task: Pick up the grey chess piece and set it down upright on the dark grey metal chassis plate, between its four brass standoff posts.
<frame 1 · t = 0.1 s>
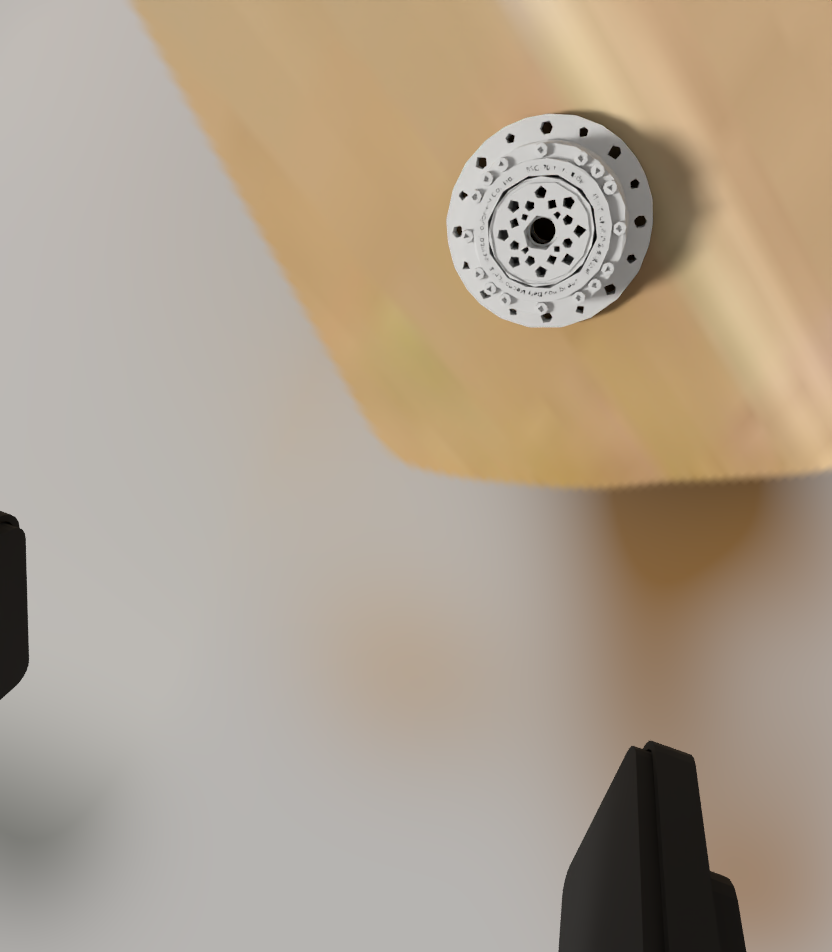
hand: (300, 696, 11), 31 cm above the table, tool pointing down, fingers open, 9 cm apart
mechanical component: (549, 224, 37), on the table
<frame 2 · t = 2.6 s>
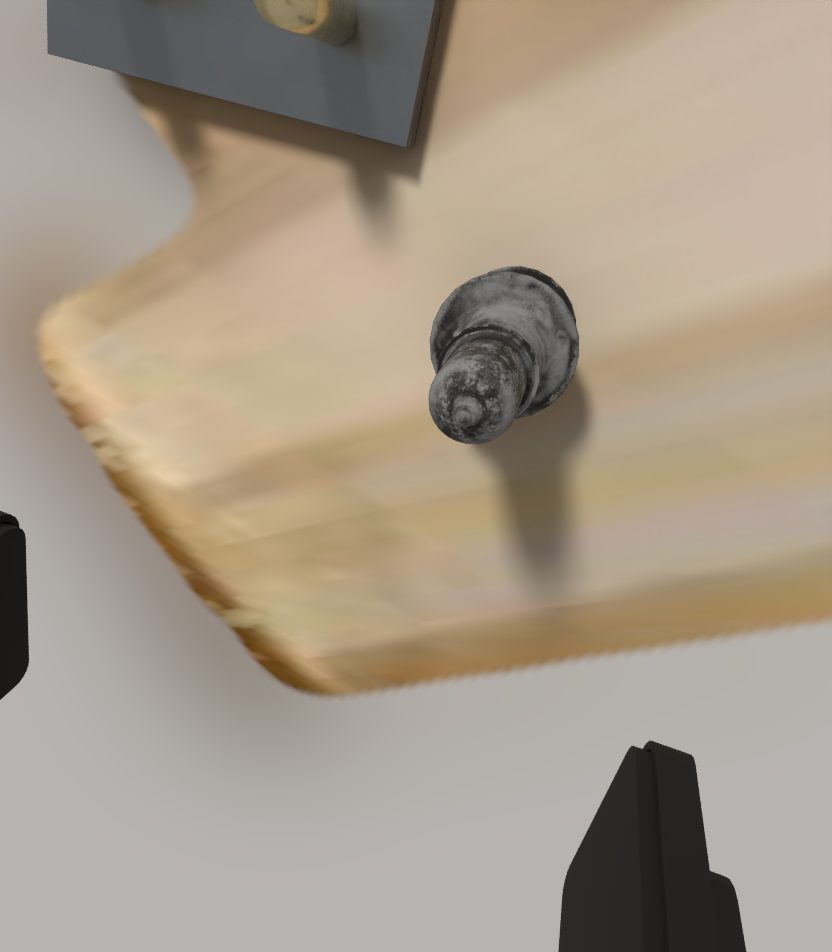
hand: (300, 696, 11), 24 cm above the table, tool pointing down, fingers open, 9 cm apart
grey chess piece: (514, 327, 32), on the table
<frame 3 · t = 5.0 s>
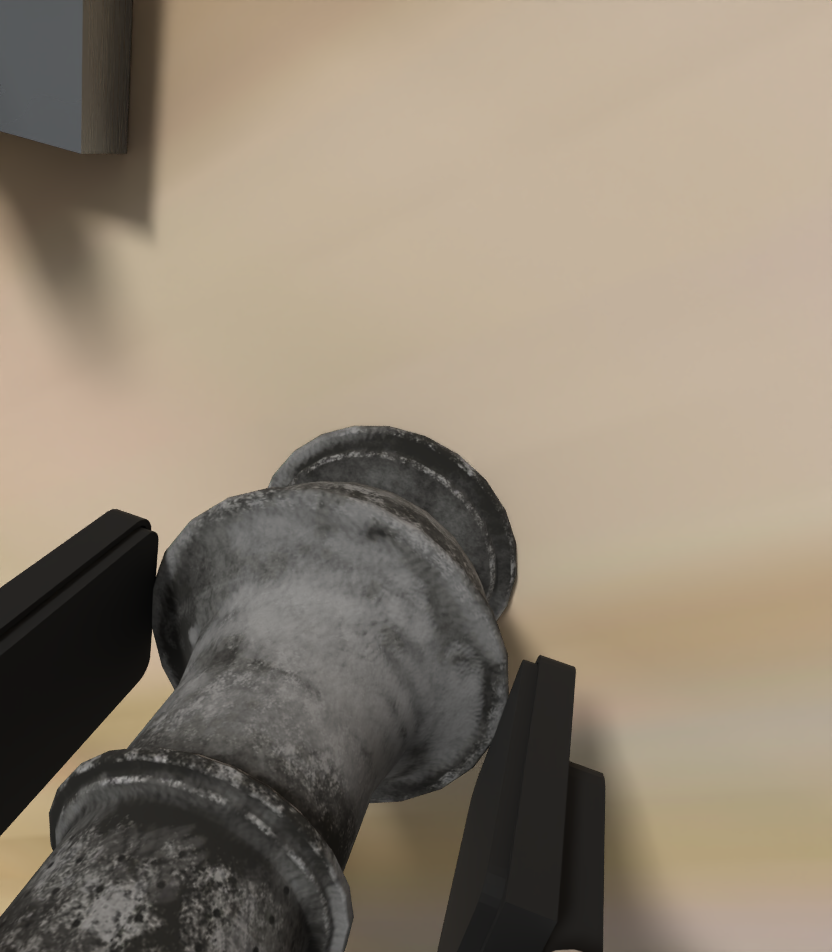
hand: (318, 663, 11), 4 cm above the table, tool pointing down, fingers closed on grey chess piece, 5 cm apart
grey chess piece: (387, 545, 15), on the table, touching gripper
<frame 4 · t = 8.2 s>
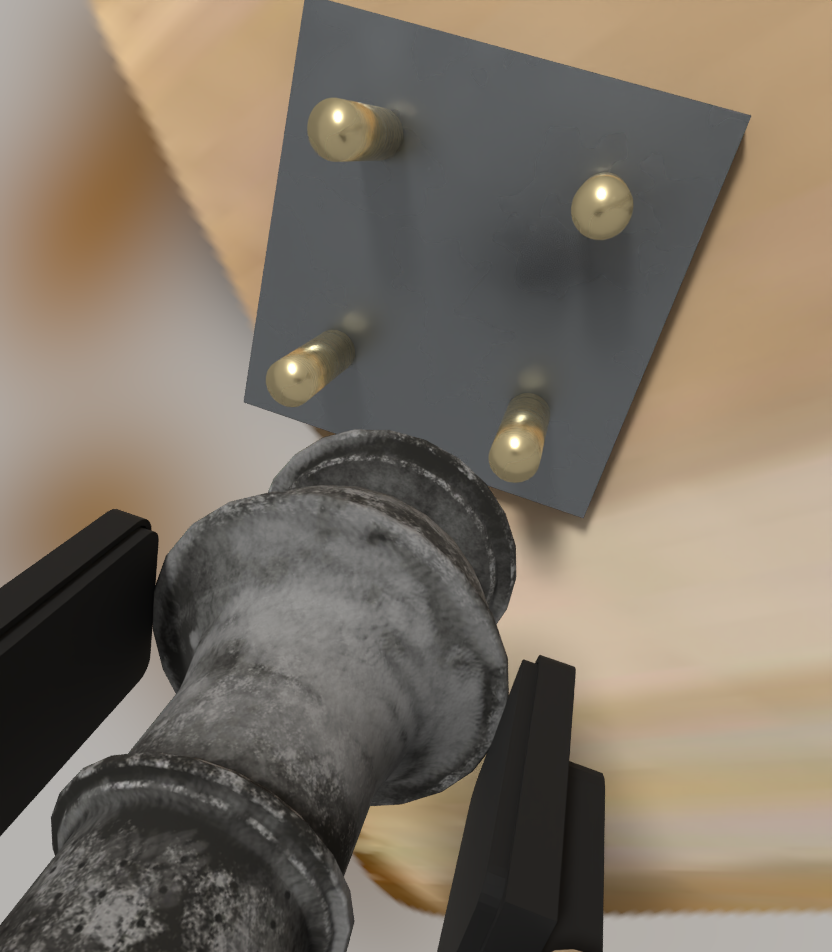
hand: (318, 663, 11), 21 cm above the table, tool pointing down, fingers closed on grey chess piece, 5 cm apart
standoff chassis: (463, 276, 29), on the table
grey chess piece: (387, 548, 15), point 18 cm above the table, touching gripper
when the fingers open (6 cm above the table, at t = 11.8 s): grey chess piece drops 1 cm, resting on standoff chassis.
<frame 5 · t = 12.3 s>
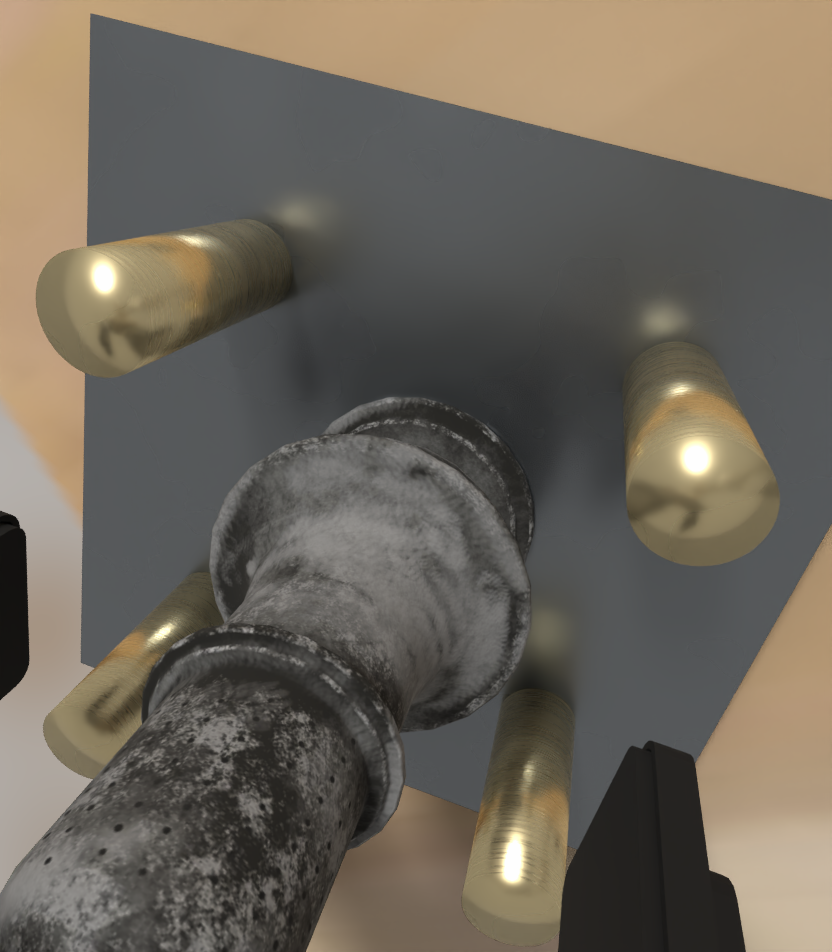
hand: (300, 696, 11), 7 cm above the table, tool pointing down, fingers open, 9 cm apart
standoff chassis: (419, 489, 17), on the table
grey chess piece: (415, 510, 16), point 1 cm above the table, touching standoff chassis
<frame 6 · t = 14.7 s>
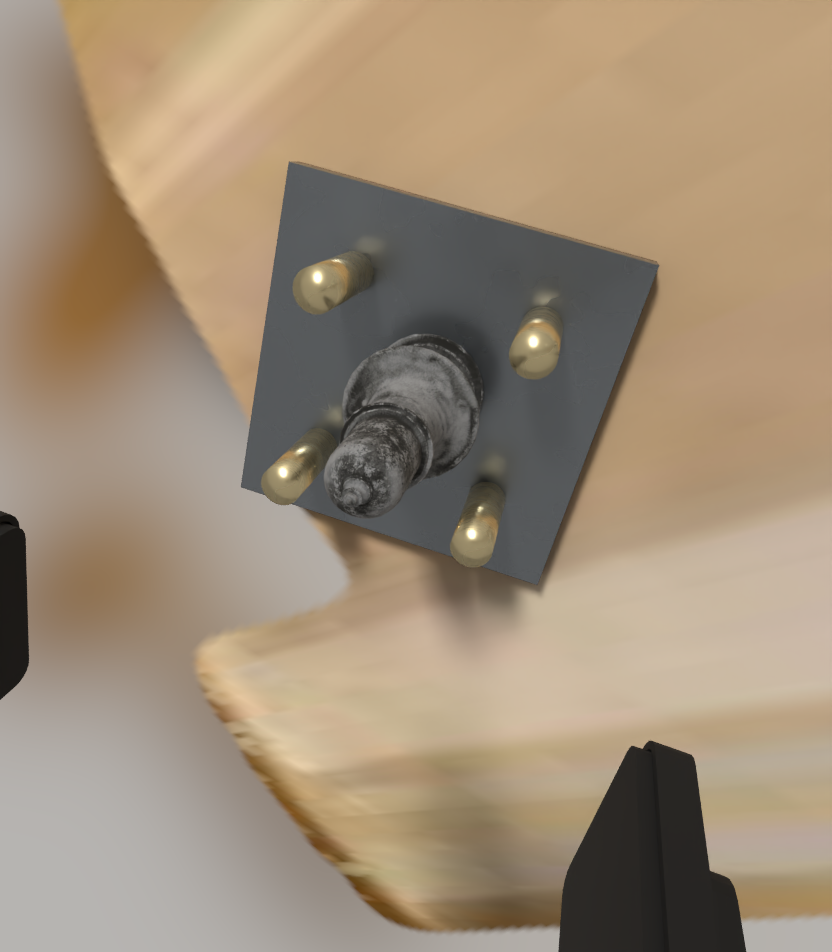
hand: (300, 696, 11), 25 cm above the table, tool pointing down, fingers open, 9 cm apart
standoff chassis: (428, 383, 34), on the table
grey chess piece: (427, 389, 33), point 1 cm above the table, touching standoff chassis
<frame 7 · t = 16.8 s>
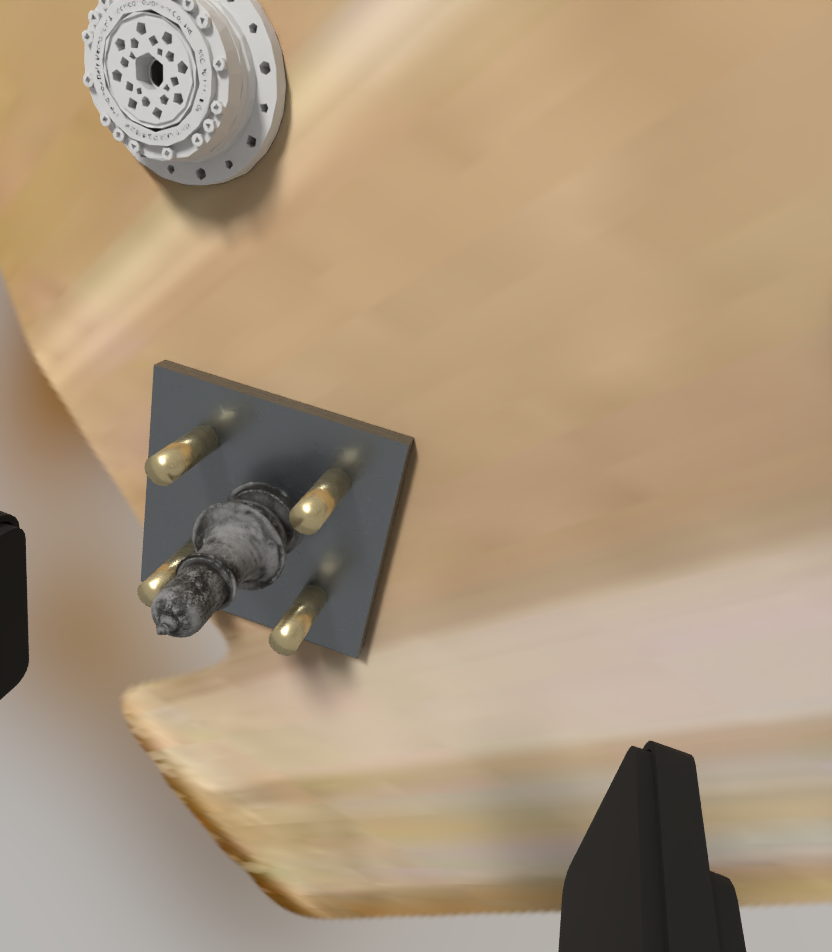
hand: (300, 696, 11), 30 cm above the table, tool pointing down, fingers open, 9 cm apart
mechanical component: (200, 80, 37), on the table
standoff chassis: (269, 511, 46), on the table
grey chess piece: (265, 518, 46), point 1 cm above the table, touching standoff chassis
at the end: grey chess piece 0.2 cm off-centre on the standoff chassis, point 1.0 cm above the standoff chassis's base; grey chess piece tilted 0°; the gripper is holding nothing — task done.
